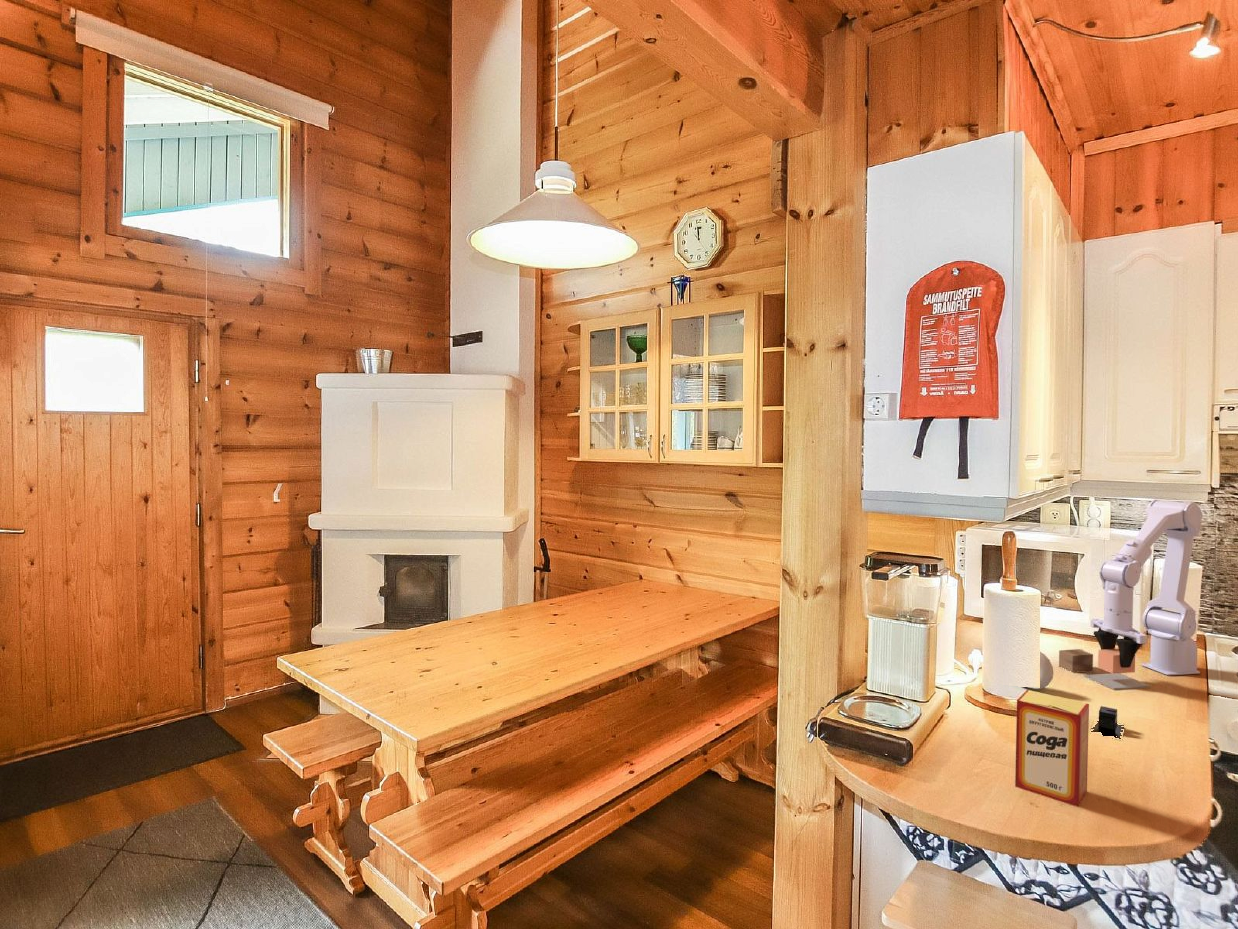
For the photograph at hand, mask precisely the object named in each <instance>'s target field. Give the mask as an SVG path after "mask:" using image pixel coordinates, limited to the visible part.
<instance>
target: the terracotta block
mask: <svg viewBox="0 0 1238 929" xmlns="http://www.w3.org/2000/svg"><path fill="white" fill-rule="evenodd" d="M1097 654H1098V657H1097V659H1098V660H1097V662H1098V663H1097V668H1098V669H1100V670H1103V671H1106V672H1108V673H1109V674H1110V673H1113V674H1114V673H1120V674H1124V673H1125V674H1127V673H1129V674H1130V673H1135V672H1136V655H1135V656H1134V658H1133V661H1132V663H1131V666H1130V667H1128V668H1123V667H1121V665H1120V653H1119V648H1115V649H1104V650H1101V649H1098V653H1097Z"/></svg>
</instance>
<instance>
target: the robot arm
mask: <svg viewBox="0 0 1238 929" xmlns="http://www.w3.org/2000/svg"><path fill="white" fill-rule="evenodd" d="M1145 518H1146V519H1145V521H1144V523H1143V525H1142V527H1141V528H1140V530H1139V531H1138V533H1137V535H1136V536H1135V538H1133V539H1128V540H1127V541H1125V543H1124V544H1123V546H1122V547H1121V548H1120V550H1119V551H1118V552H1117V553H1116V554H1115V555H1114V557H1113V558H1112V559H1109V560H1107V561H1105V562H1103V563H1102V564H1101V566H1100V570H1099V578H1100V580H1101V582H1102V583H1101V587H1102V589H1104V604H1103V606H1104V611H1103V612H1104V613H1103V620H1101V619H1098V618H1094V619H1093V618H1091V619H1090V627H1091V628H1095V629H1098V630H1094V631H1093V636H1094V637H1095V639H1096V641H1097V642H1098V645H1099V647H1100V650H1104V649H1116V645H1117V649H1119V653H1120V665H1121V667H1123V668H1128V667H1130V666H1131V663H1132V661H1133V658H1134V656H1135V657H1136V654H1137V653H1138V650H1139V649H1141V647H1142V646H1143V645H1145V644H1148V635H1147V634H1144V633H1142V632H1140V631H1138V630H1136V629H1135V628H1133V622H1134V621H1133V619H1134V613H1133V612H1134V590H1135V589H1134V587H1135V586H1137V585H1138V583H1139V581H1140V579H1141V574H1142V572H1143V568H1142V567H1143V566H1144V565H1145V564H1146V562H1147V561H1148V560H1149V558H1150V556H1151V555H1152V553H1153V552H1152V551H1153V550H1152V548H1151V547H1152V545H1154V543H1155V542H1157V540H1159V538H1160V537H1162V535H1163V534H1164V535H1166V537H1167V543H1166V548H1165V549H1166V550H1165V556H1164V562H1163V570H1162V576H1161V581H1160V588H1159V589H1160V590H1159V595H1158V596H1157V597H1155V598H1153V599H1151V600H1149V601H1147V604H1146V608H1145V610H1144V612H1143V614H1142V618H1141V619H1142V620H1141V621H1142V625H1143V627H1144V628H1145V629H1146V630H1147V633H1148V634H1150V656H1149V657H1150V659H1149V662H1141V663H1140V665H1141V666H1143V667H1145V668H1147V669H1150V670H1153V671H1156V672H1158V673H1161V674H1164V675H1167V676H1177V675H1178V676H1179V675H1181V676H1182V675H1194V674H1200V673H1201V671H1199V670H1198V646H1197V644H1196V642H1195V640H1194V639H1193V638H1192V637H1193V636H1194V635H1195V634H1196V631H1197V621H1196V615H1197V613H1196V610H1195V609H1194V608H1193V607H1192V606H1191V605H1190V604H1189V603H1187V602H1186V600H1185V596H1186V590H1187V583H1188V576H1189V570H1190V564H1191V556H1192V551H1193V545H1194V544H1193V543H1194V537H1197V536H1199V535H1200V531H1201V526H1202V520H1203V512H1202V510H1201V508H1200V506H1199V505H1198V504H1197V503H1196V502H1184V501H1171V500H1161V499H1153V500H1151V501H1150V502H1149V503H1148V505H1147V507H1146V509H1145ZM1166 609H1168V610H1166ZM1119 637H1122V638H1119Z"/></svg>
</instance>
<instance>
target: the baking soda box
mask: <svg viewBox="0 0 1238 929" xmlns="http://www.w3.org/2000/svg"><path fill="white" fill-rule="evenodd" d="M1089 722H1090V703H1087V702H1082V701H1079V700H1074V699H1070V698H1066V697H1063V696H1058V695H1051V694H1048V693H1042V692H1038V691H1034V690H1031V689H1027V690H1025V692H1023V694H1022V695H1020V697H1019V698H1018V699H1016V727H1015V728H1016V729H1015V731H1016V733H1015V734H1016V739H1015V772H1014V773H1015V776H1014V778H1015V779H1014V787H1016V788H1019V789H1021V790H1025V791H1028V792H1030V793H1031V792H1032V793H1034V794H1037V795H1040V794H1041V795H1040V796H1044V797H1046V798H1049V799H1053V800H1055V801H1059V802H1062V803H1066V804H1068V805H1072V806H1074V807H1078V808H1079V806H1080V805H1081V803H1082V802H1083V799H1084V798H1085V796H1086V794H1087V792H1088V767H1089V766H1088V762H1089V761H1088V759H1089V756H1088V755H1089V754H1088V753H1089V724H1090V723H1089Z"/></svg>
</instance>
